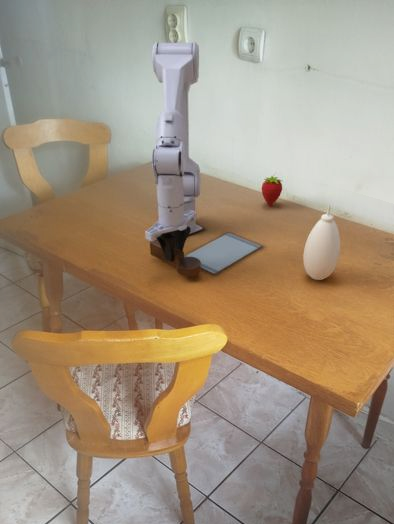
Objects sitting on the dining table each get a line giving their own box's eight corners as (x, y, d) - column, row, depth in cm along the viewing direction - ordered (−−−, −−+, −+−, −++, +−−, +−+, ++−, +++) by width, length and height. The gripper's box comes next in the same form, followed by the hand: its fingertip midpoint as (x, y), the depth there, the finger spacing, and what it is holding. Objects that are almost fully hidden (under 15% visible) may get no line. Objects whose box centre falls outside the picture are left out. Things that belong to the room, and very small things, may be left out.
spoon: (143, 256, 122) (142, 244, 120) (160, 248, 125) (159, 235, 123) (189, 279, 114) (188, 266, 112) (205, 269, 117) (205, 256, 115)
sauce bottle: (327, 290, 113) (341, 215, 101) (295, 281, 116) (305, 206, 104) (339, 274, 118) (353, 201, 106) (308, 266, 121) (318, 193, 109)
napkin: (181, 258, 124) (181, 257, 124) (228, 233, 134) (228, 232, 134) (214, 274, 119) (214, 273, 118) (261, 247, 129) (261, 245, 128)
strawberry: (281, 201, 150) (284, 167, 144) (279, 212, 144) (283, 177, 138) (261, 200, 151) (263, 166, 145) (259, 210, 145) (261, 176, 139)
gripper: (159, 219, 104) (163, 275, 113) (206, 197, 112) (206, 251, 121) (136, 209, 108) (142, 264, 116) (183, 189, 116) (185, 242, 124)
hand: (173, 257), depth 119 cm, fingers closed on spoon, 2 cm apart
